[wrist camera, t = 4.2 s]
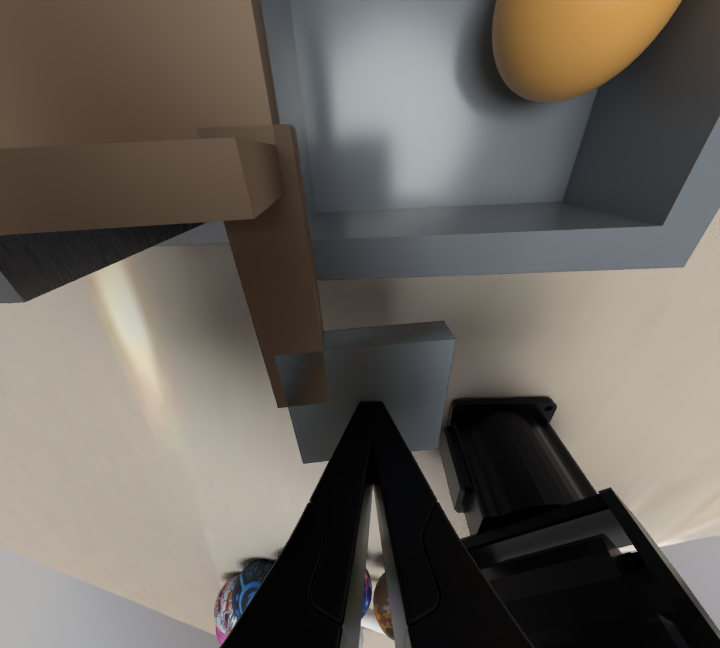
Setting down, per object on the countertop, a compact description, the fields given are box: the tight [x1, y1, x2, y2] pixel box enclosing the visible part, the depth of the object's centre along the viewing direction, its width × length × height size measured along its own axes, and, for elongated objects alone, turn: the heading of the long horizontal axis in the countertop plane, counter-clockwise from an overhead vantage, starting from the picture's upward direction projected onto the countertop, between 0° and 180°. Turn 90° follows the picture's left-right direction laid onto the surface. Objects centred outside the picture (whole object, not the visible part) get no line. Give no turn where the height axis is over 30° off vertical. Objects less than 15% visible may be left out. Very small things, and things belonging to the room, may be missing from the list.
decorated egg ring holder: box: [214, 560, 395, 648], centre depth 37 cm, size 35×35×9 cm
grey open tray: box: [260, 0, 720, 280], centre depth 7 cm, size 12×12×5 cm
